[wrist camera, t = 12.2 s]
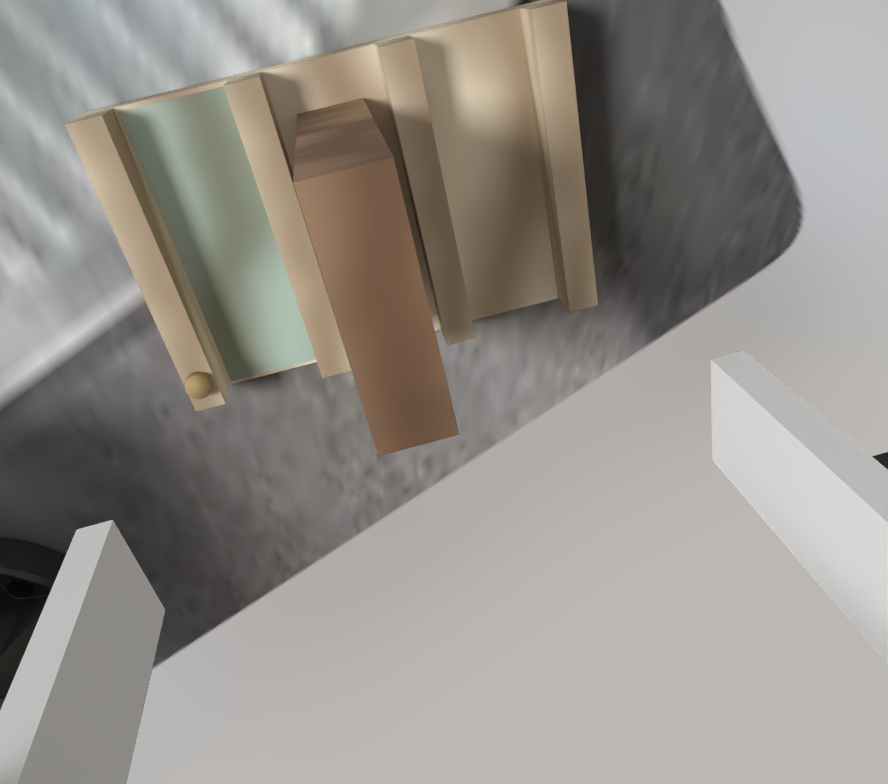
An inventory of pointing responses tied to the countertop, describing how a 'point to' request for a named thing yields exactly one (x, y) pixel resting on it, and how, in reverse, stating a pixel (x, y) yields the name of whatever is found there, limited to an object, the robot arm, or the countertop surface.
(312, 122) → the wooden block
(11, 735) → the robot arm
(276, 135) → the slotted rack
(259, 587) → the countertop surface
